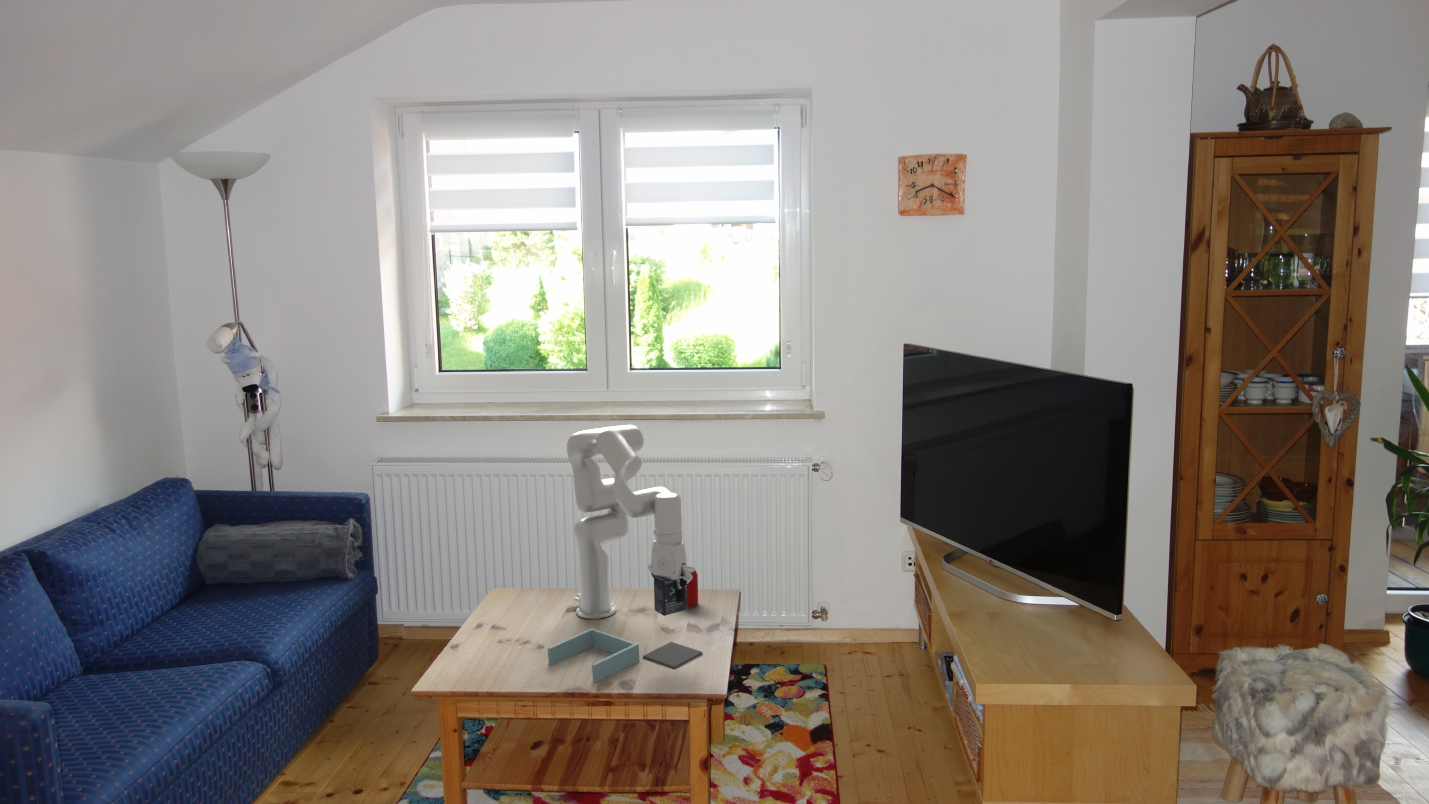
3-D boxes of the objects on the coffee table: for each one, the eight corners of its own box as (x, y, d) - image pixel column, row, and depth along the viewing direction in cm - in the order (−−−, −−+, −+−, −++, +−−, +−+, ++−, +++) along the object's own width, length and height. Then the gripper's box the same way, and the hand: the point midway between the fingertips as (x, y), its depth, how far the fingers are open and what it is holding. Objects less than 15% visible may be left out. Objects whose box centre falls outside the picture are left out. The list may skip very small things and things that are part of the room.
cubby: (548, 664, 263) (547, 647, 262) (592, 643, 276) (592, 627, 275) (595, 682, 251) (594, 665, 250) (639, 660, 264) (638, 643, 263)
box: (664, 616, 260) (663, 580, 258) (654, 610, 264) (652, 574, 263) (688, 610, 264) (687, 574, 262) (677, 604, 269) (676, 568, 267)
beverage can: (677, 601, 308) (676, 566, 306) (697, 600, 308) (696, 565, 306) (678, 609, 301) (677, 573, 299) (699, 607, 302) (698, 572, 300)
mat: (643, 657, 266) (642, 655, 266) (671, 643, 275) (671, 641, 275) (674, 668, 258) (674, 666, 258) (702, 653, 267) (702, 651, 267)
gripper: (636, 535, 263) (639, 595, 266) (683, 545, 253) (685, 608, 255) (655, 528, 269) (657, 587, 272) (701, 538, 258) (703, 600, 261)
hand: (670, 597), depth 264 cm, fingers closed on box, 6 cm apart
